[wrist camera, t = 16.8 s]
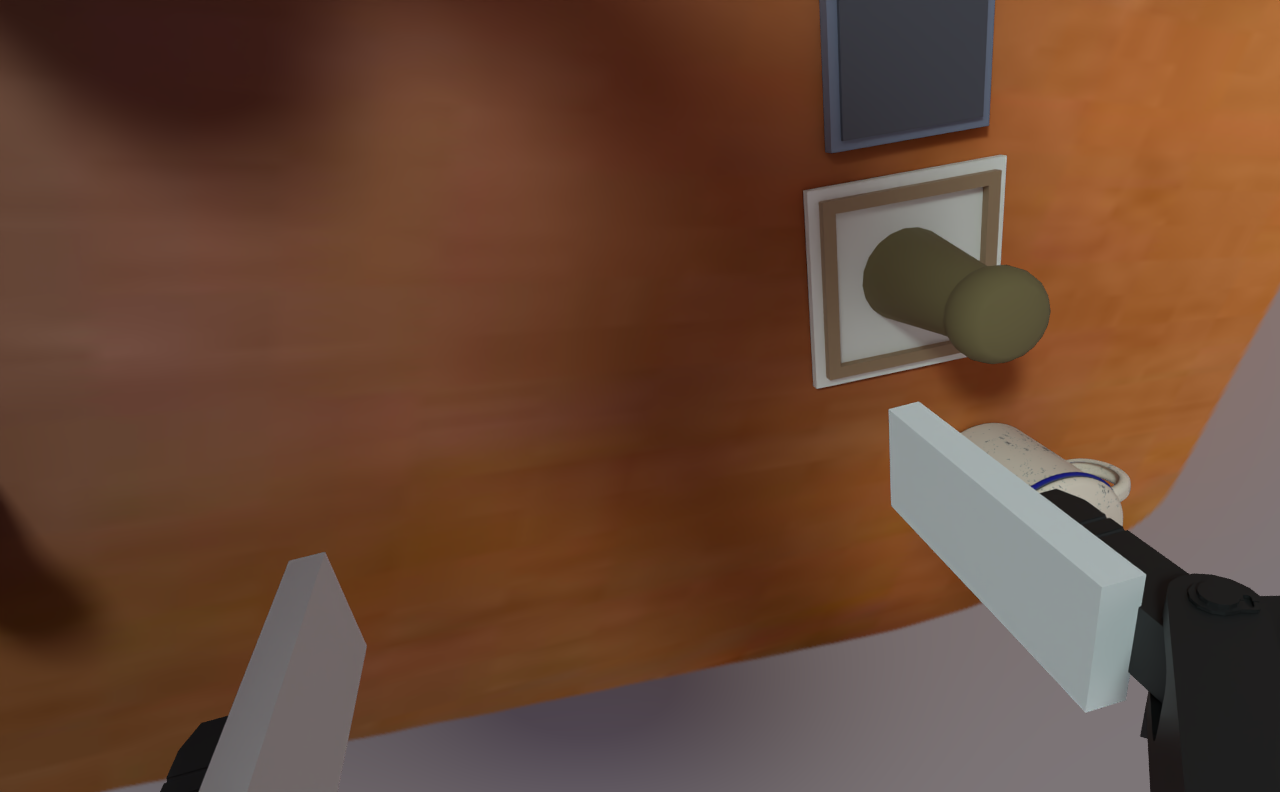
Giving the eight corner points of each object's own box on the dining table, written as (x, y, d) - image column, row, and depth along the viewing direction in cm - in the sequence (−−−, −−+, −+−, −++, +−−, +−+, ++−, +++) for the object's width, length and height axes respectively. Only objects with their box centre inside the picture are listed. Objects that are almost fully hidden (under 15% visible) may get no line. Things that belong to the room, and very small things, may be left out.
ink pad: (817, -40, 40) (826, -44, 39) (988, -65, 41) (1001, -69, 40) (825, 152, 44) (833, 153, 43) (980, 124, 45) (992, 125, 44)
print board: (803, 190, 44) (810, 193, 43) (1000, 154, 46) (1013, 156, 45) (813, 385, 50) (820, 392, 49) (990, 348, 51) (1001, 353, 50)
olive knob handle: (967, 248, 47) (1093, 291, 37) (918, 332, 49) (1027, 395, 39) (893, 211, 45) (1005, 246, 35) (845, 300, 47) (940, 357, 37)
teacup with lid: (927, 540, 57) (1026, 643, 46) (914, 441, 53) (1018, 529, 42) (1069, 490, 57) (1198, 580, 47) (1066, 388, 54) (1206, 461, 43)
